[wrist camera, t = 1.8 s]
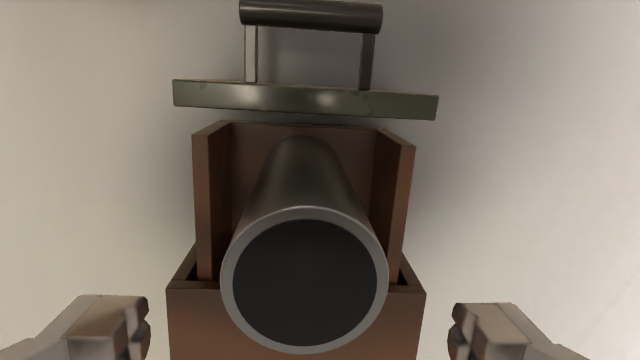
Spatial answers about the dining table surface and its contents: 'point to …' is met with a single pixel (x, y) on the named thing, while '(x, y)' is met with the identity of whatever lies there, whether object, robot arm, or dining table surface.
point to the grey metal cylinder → (303, 255)
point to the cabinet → (249, 356)
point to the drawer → (300, 130)
